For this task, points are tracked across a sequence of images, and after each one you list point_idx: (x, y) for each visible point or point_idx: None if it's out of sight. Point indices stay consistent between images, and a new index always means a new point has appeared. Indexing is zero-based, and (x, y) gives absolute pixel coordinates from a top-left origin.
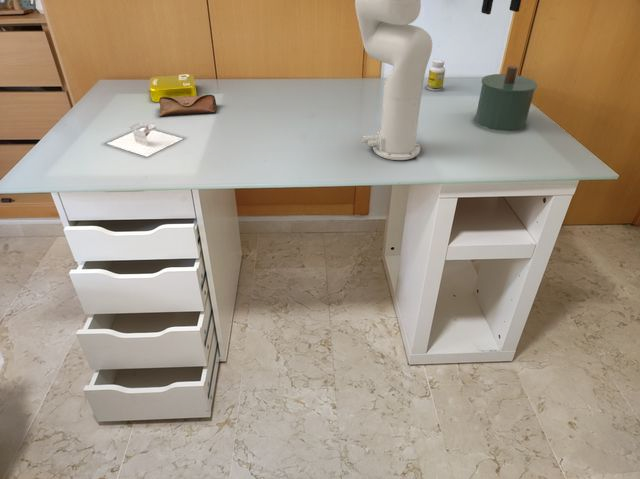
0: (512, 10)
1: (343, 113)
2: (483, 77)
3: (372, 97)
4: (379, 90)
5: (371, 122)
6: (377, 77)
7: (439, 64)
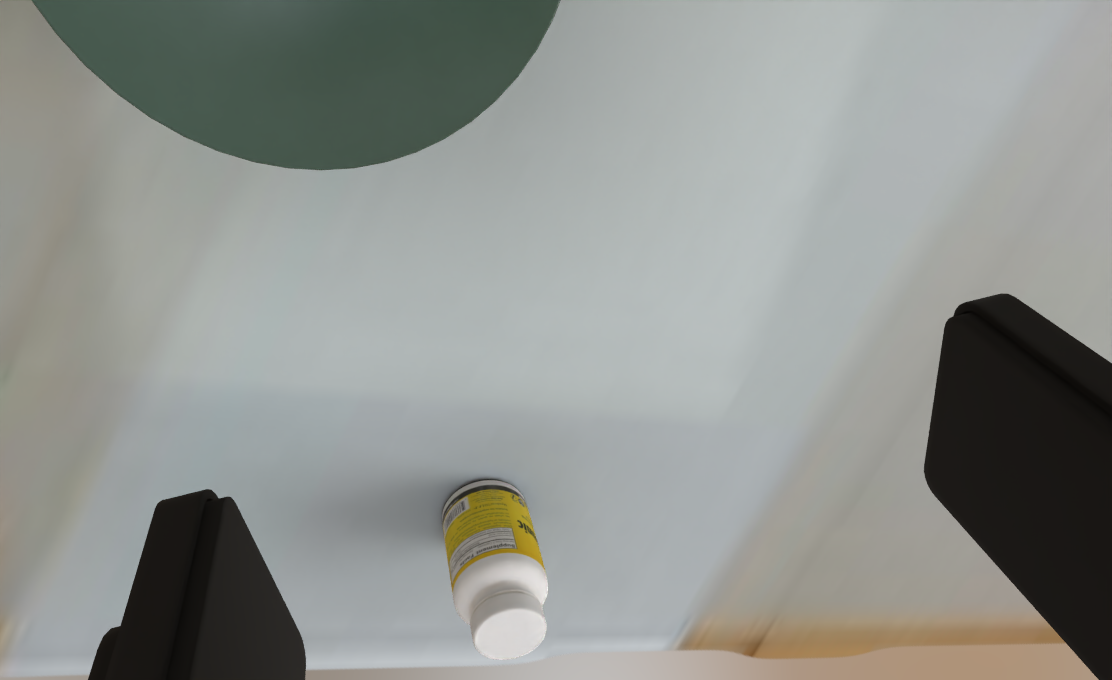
0: (273, 581)
1: (1099, 233)
2: (497, 95)
3: (854, 418)
4: (772, 500)
5: (1061, 86)
6: (691, 648)
7: (517, 599)
